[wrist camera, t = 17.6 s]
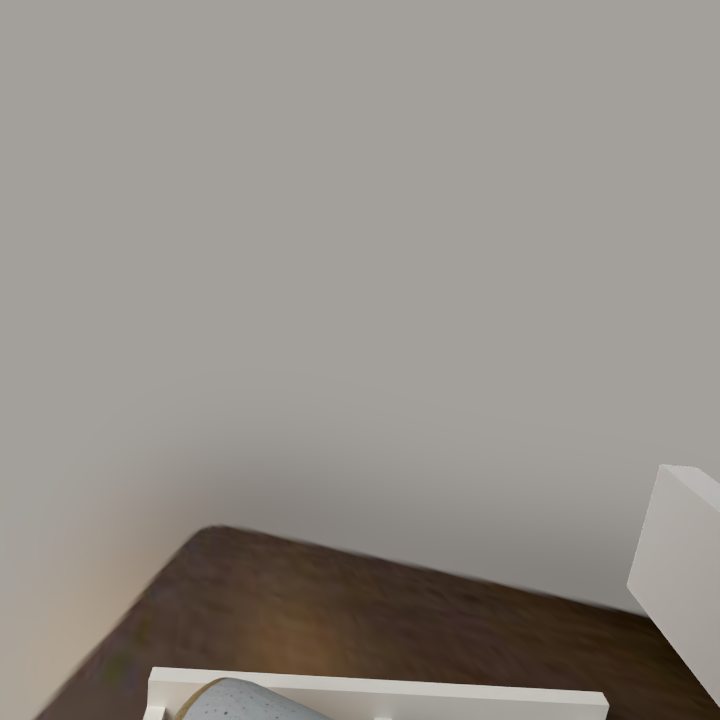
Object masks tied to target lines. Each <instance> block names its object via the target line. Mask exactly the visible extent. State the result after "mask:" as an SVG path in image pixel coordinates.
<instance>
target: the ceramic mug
mask: <svg viewBox="0 0 720 720" xmlns="http://www.w3.org/2000/svg"><path fill="white" fill-rule="evenodd" d="M172 720H333V719H331V718H329V717H327V716H325V715H323V714H321V713H319V712H317V711H315V710H312V709H310V708H308V707H306V706H304V705H302V704H299V703H297V702H295V701H293V700H290V699H288V698H286V697H284V696H282V695H279V694H277V693H275V692H273V691H271V690H269V689H267V688H265V687H263V686H260V685H258V684H256V683H253V682H251V681H246V680H242V679H237V678H229V677H223V678H219V679H215V680H213V681H211V682H210V683H208V684H206V685H204V686H203V687H202V688H200V689H199V690H198V691H197V692H195V693H194V694H193V695H192V696H191V697H190V698H189V699H188V700H187V701H186V702H185V703H184V704H183V706H182V707H181V708H180V709H179V711H178V712H177V714H176V715H175V716H174V718H173V719H172Z"/></svg>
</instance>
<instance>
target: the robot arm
mask: <svg viewBox="0 0 720 720" xmlns="http://www.w3.org/2000/svg"><path fill="white" fill-rule="evenodd" d="M627 588H628V589H629V590H630V592H631V593H632V594H633V595H634V597H635V598H636V599H637V601H638V602H639V603H640V605H641V606H642V607H643V608H644V610H645V611H646V612H647V614H648V615H649V616H650V618H651V619H652V620H653V622H654V623H655V624H656V625H657V627H658V628H659V629H660V631H661V632H662V633H663V635H664V636H665V637H666V638H667V640H668V641H669V642H670V644H671V645H672V646H673V648H674V649H675V650H676V651H677V653H678V654H679V655H680V657H681V658H682V659H683V661H684V662H685V663H686V664H687V666H688V667H689V668H690V670H691V671H692V672H693V674H694V675H695V676H696V677H697V679H698V680H699V681H700V683H701V684H702V685H703V687H704V688H705V689H706V690H707V692H708V693H709V694H710V696H711V697H712V698H713V700H714V701H715V702H716V703H717V705H718V706H719V707H720V484H719V483H718V482H716V481H715V480H713V479H712V478H711V477H709V476H708V475H707V474H705V473H704V472H703V471H701V470H700V469H699V468H697V467H687V466H677V465H665V464H660V467H659V471H658V474H657V478H656V481H655V485H654V489H653V492H652V496H651V499H650V503H649V507H648V510H647V514H646V517H645V522H644V525H643V528H642V532H641V536H640V540H639V543H638V546H637V550H636V553H635V557H634V561H633V564H632V568H631V571H630V575H629V579H628V583H627Z"/></svg>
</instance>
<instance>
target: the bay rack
mask: <svg viewBox="0 0 720 720" xmlns="http://www.w3.org/2000/svg"><path fill="white" fill-rule="evenodd" d="M223 677H229V678H237V679H242V680H246V681H251V682H253V683H256V684H258V685H260V686H263V687H265V688H267V689H269V690H271V691H273V692H275V693H277V694H279V695H282V696H284V697H286V698H288V699H290V700H293V701H295V702H297V703H299V704H302V705H304V706H306V707H308V708H310V709H312V710H315V711H317V712H319V713H321V714H323V715H325V716H327V717H329V718H331V719H333V720H605V719H606V716H607V712H608V709H609V704H608V702H607V700H606V698H605V697H604V695H603V693H602V692H588V691H570V690H553V689H535V688H517V687H500V686H482V685H464V684H446V683H429V682H411V681H393V680H376V679H358V678H340V677H322V676H305V675H287V674H269V673H252V672H234V671H216V670H198V669H181V668H163V667H153V669H152V672H151V675H150V678H149V681H148V702H147V709H146V712H145V715H144V718H143V720H172V719H173V718H174V716H175V715H176V714H177V712H178V711H179V709H180V708H181V707H182V706H183V704H184V703H185V702H186V701H187V700H188V699H189V698H190V697H191V696H192V695H193V694H194V693H195V692H197V691H198V690H199V689H200V688H202V687H203V686H204V685H206V684H208V683H210V682H211V681H213V680H215V679H219V678H223Z"/></svg>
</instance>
